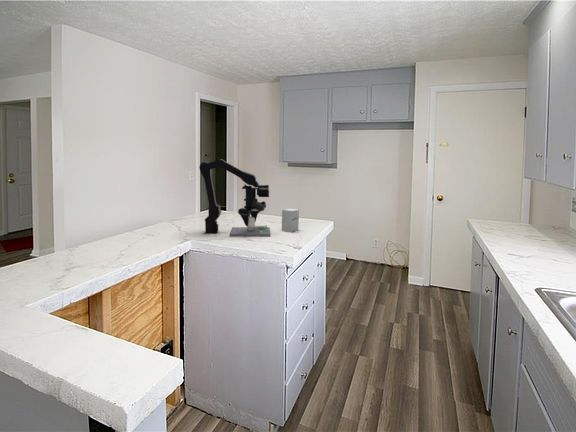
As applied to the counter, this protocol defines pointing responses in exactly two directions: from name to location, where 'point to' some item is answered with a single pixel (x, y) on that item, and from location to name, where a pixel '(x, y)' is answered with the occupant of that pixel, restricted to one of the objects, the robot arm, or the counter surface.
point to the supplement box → (290, 220)
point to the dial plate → (250, 232)
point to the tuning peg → (252, 224)
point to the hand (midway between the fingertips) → (250, 224)
